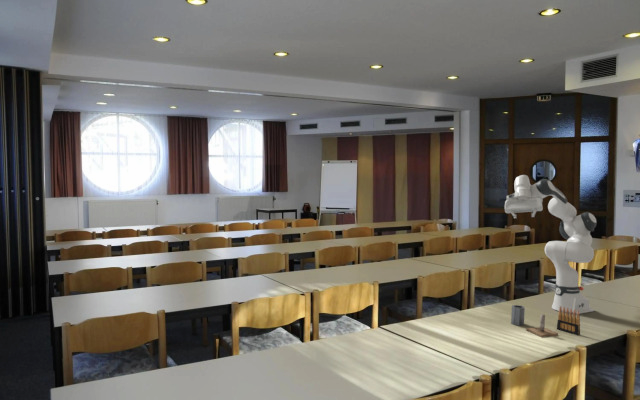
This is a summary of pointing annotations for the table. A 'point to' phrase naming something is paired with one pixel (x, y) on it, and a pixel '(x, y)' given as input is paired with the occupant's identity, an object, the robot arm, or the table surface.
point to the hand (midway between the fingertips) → (523, 217)
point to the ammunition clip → (568, 321)
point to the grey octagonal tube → (517, 315)
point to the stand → (542, 329)
